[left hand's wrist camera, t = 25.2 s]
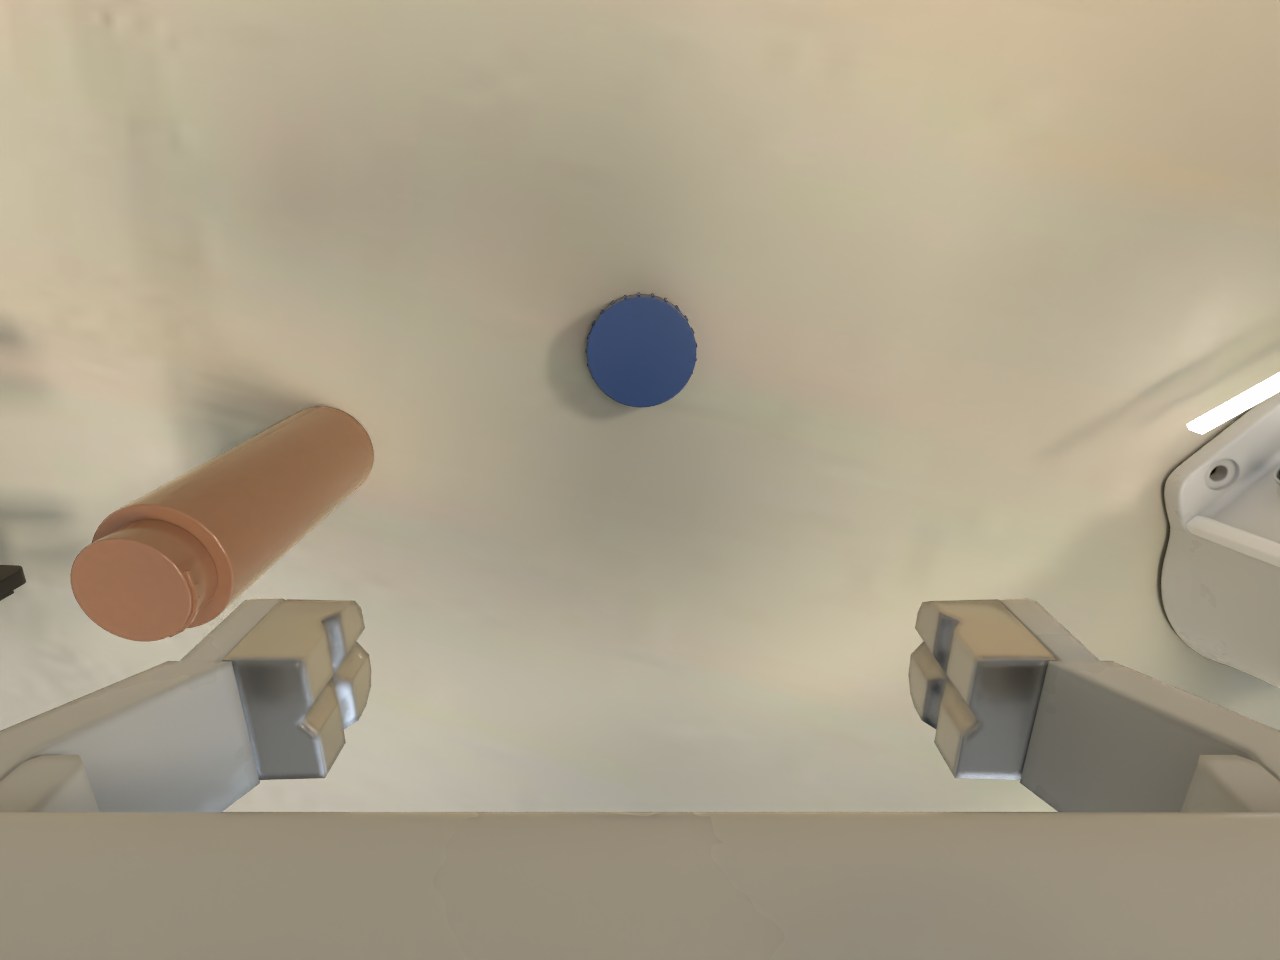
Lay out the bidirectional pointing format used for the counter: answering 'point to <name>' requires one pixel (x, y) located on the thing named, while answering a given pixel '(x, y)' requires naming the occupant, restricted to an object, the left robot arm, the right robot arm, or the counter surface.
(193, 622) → the jar
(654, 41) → the counter surface
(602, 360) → the lid
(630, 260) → the counter surface
